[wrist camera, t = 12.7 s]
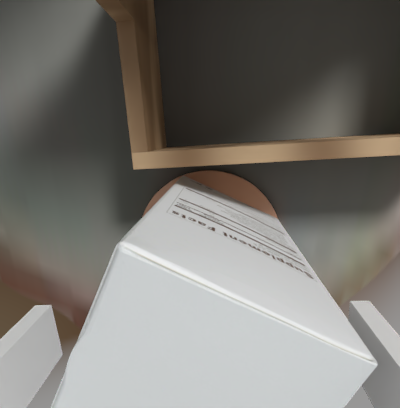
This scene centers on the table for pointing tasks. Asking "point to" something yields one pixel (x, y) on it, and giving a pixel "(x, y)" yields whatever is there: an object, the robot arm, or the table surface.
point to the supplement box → (212, 317)
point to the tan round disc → (223, 189)
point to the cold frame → (202, 154)
